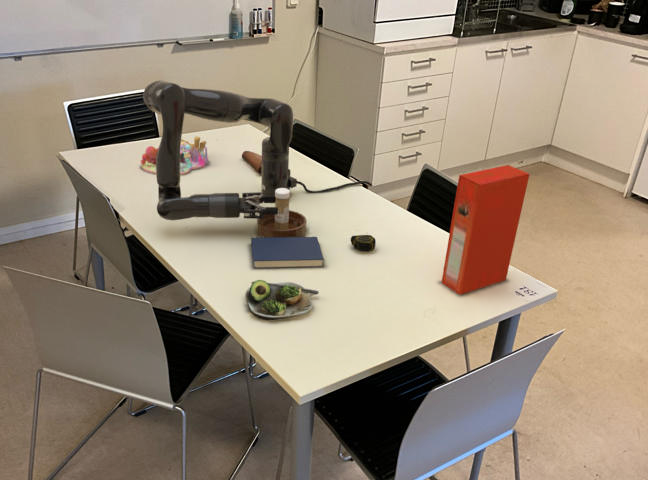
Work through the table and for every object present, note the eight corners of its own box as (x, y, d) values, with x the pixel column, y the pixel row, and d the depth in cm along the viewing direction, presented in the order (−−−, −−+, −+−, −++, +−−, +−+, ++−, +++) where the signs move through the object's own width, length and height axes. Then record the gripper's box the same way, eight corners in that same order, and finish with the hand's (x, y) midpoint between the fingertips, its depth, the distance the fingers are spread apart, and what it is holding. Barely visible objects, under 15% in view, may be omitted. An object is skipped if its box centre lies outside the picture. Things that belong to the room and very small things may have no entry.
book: (251, 245, 201) (251, 237, 200) (316, 244, 204) (317, 236, 202) (253, 268, 190) (253, 260, 188) (323, 267, 192) (323, 259, 191)
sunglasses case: (279, 171, 252) (271, 158, 248) (264, 182, 252) (255, 169, 247) (261, 156, 266) (253, 143, 261) (247, 166, 265) (238, 153, 261)
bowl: (282, 216, 220) (282, 205, 218) (315, 232, 211) (316, 221, 209) (247, 229, 210) (247, 218, 208) (280, 247, 201) (280, 235, 199)
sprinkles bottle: (271, 230, 210) (272, 190, 203) (281, 225, 213) (282, 186, 206) (282, 234, 208) (283, 194, 200) (291, 230, 211) (293, 190, 203)
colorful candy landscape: (157, 150, 268) (155, 127, 263) (214, 155, 266) (213, 132, 261) (135, 172, 247) (133, 148, 242) (197, 178, 245) (196, 154, 240)
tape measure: (371, 243, 206) (372, 232, 204) (377, 254, 200) (378, 242, 198) (349, 244, 205) (350, 233, 203) (355, 255, 199) (356, 243, 197)
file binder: (440, 282, 187) (459, 174, 170) (485, 268, 195) (507, 164, 178) (460, 295, 182) (481, 185, 165) (505, 280, 189) (530, 174, 173)
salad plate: (311, 282, 184) (312, 267, 182) (327, 317, 170) (328, 302, 167) (241, 288, 180) (241, 273, 178) (252, 324, 166) (252, 309, 163)
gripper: (223, 203, 196) (278, 203, 198) (223, 185, 208) (275, 184, 209) (224, 226, 200) (278, 226, 202) (223, 207, 212) (274, 206, 213)
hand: (276, 204), depth 205 cm, fingers open, 8 cm apart
